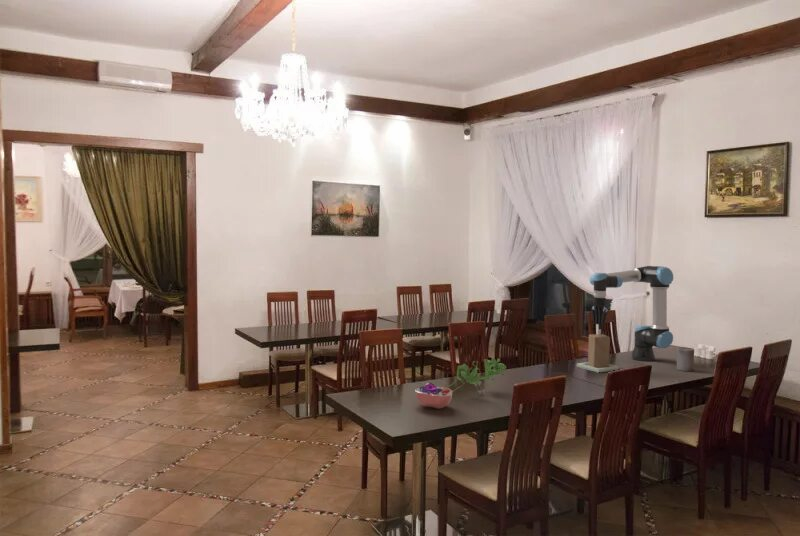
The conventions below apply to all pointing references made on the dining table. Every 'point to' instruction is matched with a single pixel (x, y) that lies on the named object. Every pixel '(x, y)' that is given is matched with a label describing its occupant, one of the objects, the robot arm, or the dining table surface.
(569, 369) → the dining table surface
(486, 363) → the plant cuttings
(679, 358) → the pillar candle
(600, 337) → the wooden block
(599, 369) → the square tray
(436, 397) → the cell model
